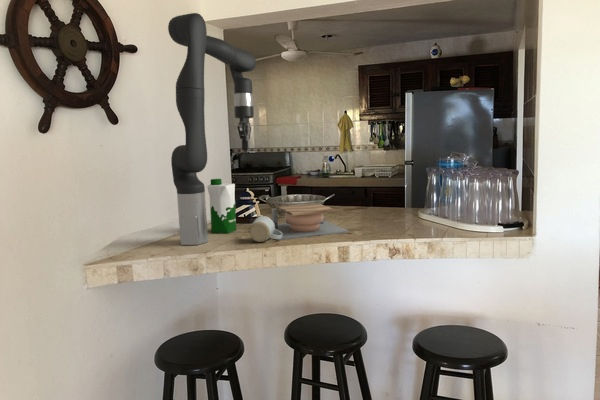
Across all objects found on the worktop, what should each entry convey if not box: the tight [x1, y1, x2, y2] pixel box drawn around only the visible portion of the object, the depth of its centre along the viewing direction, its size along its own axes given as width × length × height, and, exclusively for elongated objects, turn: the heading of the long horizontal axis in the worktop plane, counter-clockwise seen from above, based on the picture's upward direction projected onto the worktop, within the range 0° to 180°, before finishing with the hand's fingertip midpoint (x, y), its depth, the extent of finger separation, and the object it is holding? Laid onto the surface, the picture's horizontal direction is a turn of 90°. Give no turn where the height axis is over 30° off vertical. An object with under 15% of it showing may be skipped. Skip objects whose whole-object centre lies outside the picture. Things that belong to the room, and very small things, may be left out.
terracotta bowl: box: [284, 212, 324, 232], centre depth 169 cm, size 14×14×7 cm
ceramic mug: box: [249, 215, 283, 243], centre depth 155 cm, size 11×8×8 cm
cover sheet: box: [277, 202, 336, 216], centre depth 167 cm, size 18×16×1 cm
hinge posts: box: [271, 208, 323, 229], centre depth 176 cm, size 2×20×8 cm, turn 109°
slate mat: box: [273, 219, 350, 241], centre depth 172 cm, size 26×26×1 cm
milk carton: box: [206, 178, 237, 234], centre depth 173 cm, size 9×9×20 cm
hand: (245, 150), depth 181 cm, fingers closed
